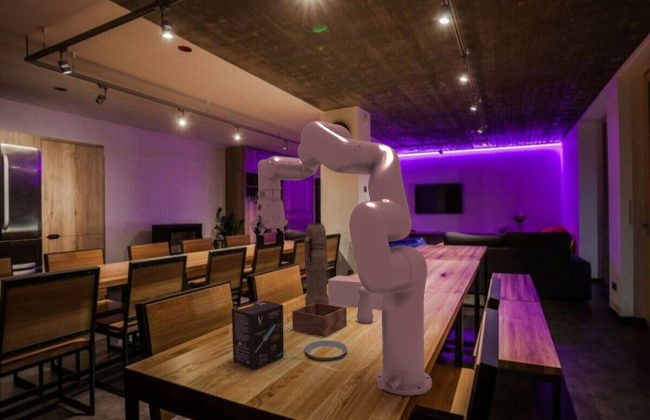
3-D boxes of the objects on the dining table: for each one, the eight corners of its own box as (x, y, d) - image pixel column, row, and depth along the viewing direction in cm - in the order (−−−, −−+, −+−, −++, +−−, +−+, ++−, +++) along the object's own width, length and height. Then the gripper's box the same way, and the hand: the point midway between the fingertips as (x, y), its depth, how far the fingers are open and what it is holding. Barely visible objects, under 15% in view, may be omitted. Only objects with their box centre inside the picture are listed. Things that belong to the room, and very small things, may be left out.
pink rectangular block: (409, 306, 149) (408, 280, 149) (403, 313, 140) (403, 285, 140) (337, 299, 163) (337, 275, 162) (328, 305, 153) (327, 279, 153)
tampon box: (262, 349, 105) (262, 299, 105) (285, 357, 99) (284, 303, 99) (231, 361, 97) (230, 307, 97) (253, 371, 91) (252, 313, 91)
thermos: (298, 317, 136) (297, 224, 136) (315, 309, 146) (313, 222, 146) (318, 320, 131) (317, 224, 131) (334, 312, 142) (333, 223, 142)
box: (324, 339, 112) (324, 317, 112) (292, 332, 119) (292, 311, 119) (346, 328, 122) (346, 307, 122) (315, 321, 130) (315, 302, 130)
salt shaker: (372, 326, 123) (372, 288, 123) (356, 325, 124) (355, 288, 124) (373, 321, 129) (373, 285, 129) (357, 320, 130) (357, 284, 130)
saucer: (354, 353, 102) (354, 345, 102) (332, 369, 92) (332, 360, 92) (320, 345, 108) (319, 337, 108) (296, 359, 98) (295, 351, 98)
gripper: (259, 195, 114) (260, 248, 114) (294, 196, 129) (294, 244, 129) (242, 195, 119) (243, 247, 119) (278, 196, 133) (279, 243, 133)
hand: (270, 245), depth 124 cm, fingers open, 9 cm apart
